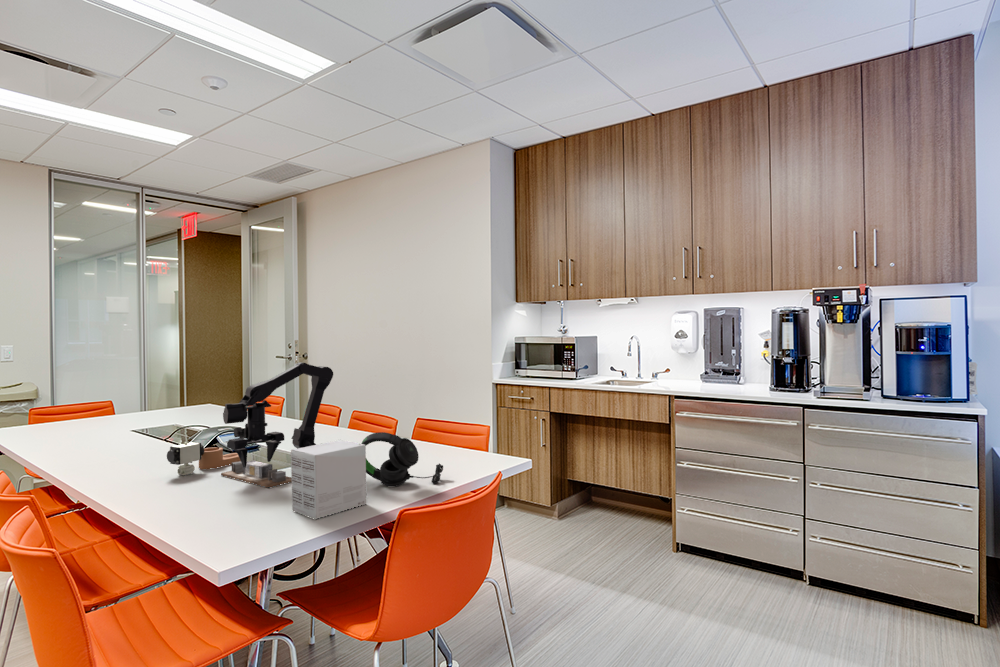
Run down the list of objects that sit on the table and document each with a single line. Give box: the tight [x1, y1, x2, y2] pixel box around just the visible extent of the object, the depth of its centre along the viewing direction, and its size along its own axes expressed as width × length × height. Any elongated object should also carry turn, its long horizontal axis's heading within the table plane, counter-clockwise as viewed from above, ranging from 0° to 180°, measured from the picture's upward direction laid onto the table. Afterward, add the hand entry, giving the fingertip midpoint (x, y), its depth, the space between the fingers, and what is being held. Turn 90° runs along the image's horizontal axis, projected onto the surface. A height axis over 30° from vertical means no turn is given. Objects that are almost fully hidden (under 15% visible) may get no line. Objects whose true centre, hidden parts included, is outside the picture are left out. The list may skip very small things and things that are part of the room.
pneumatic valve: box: [166, 441, 205, 476], centre depth 200 cm, size 6×12×12 cm, turn 155°
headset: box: [360, 431, 444, 487], centre depth 184 cm, size 18×14×29 cm
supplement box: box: [290, 439, 367, 520], centre depth 159 cm, size 17×13×18 cm
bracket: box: [198, 446, 241, 470], centre depth 216 cm, size 18×8×7 cm, turn 151°
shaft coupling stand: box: [220, 461, 292, 488], centre depth 193 cm, size 30×10×4 cm, turn 55°
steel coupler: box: [243, 459, 273, 479], centre depth 193 cm, size 12×4×4 cm, turn 55°
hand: (256, 464), depth 193 cm, fingers open, 9 cm apart
